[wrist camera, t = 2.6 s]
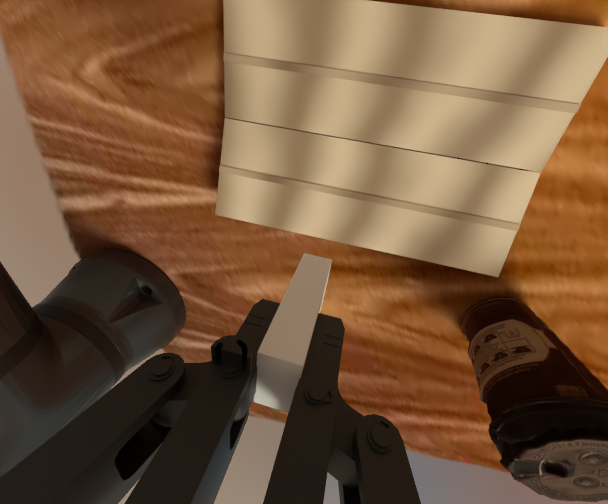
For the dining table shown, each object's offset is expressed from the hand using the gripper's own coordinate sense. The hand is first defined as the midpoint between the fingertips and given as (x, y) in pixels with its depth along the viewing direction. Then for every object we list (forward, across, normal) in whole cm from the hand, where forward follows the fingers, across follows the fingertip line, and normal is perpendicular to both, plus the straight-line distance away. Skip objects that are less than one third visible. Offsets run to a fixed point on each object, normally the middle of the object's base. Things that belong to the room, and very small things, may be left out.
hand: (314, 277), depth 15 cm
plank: (+11, +2, +2) cm, 11 cm away
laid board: (+12, +2, +10) cm, 16 cm away
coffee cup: (+12, +18, -9) cm, 23 cm away
